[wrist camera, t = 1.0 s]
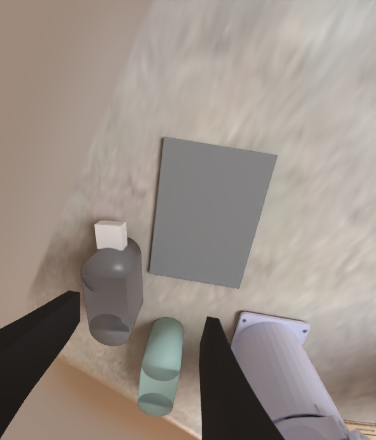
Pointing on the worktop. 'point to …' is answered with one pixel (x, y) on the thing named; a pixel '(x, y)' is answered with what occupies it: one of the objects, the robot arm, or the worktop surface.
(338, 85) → the worktop surface
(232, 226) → the mat
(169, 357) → the teal plug
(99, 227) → the plug
